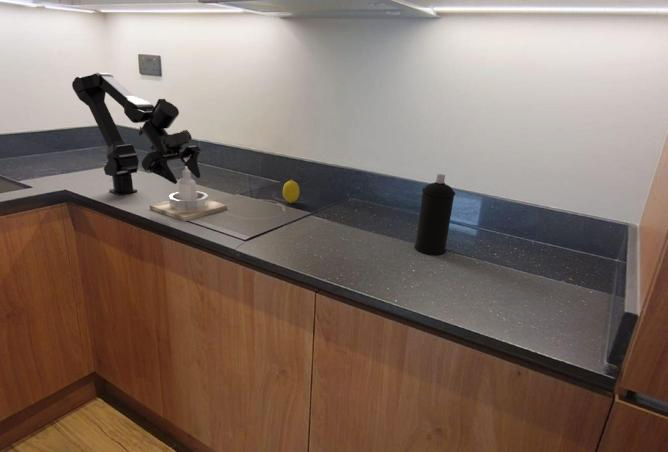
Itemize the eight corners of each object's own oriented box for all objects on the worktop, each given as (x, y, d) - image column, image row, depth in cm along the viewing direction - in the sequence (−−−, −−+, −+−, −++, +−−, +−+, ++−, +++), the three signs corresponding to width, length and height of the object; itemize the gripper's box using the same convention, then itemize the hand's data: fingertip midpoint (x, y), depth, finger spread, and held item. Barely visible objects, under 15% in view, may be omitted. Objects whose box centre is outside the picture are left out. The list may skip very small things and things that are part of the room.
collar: (162, 205, 128) (161, 195, 127) (191, 198, 137) (191, 189, 136) (185, 213, 123) (185, 203, 122) (215, 205, 132) (215, 195, 131)
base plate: (149, 209, 128) (149, 205, 128) (193, 198, 141) (193, 195, 140) (184, 221, 120) (184, 217, 120) (227, 209, 133) (227, 205, 132)
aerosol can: (440, 258, 106) (452, 180, 100) (409, 250, 110) (419, 174, 104) (450, 248, 113) (462, 174, 106) (420, 241, 117) (431, 169, 110)
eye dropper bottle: (183, 208, 127) (181, 169, 123) (178, 203, 131) (176, 165, 127) (198, 206, 129) (196, 168, 125) (192, 201, 133) (190, 164, 129)
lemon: (296, 206, 140) (297, 182, 137) (280, 204, 141) (280, 180, 138) (300, 201, 145) (301, 179, 142) (285, 200, 146) (285, 177, 143)
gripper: (144, 123, 116) (176, 169, 115) (195, 119, 132) (223, 159, 131) (128, 148, 122) (158, 192, 121) (178, 141, 138) (205, 180, 137)
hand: (188, 180), depth 127 cm, fingers open, 9 cm apart
